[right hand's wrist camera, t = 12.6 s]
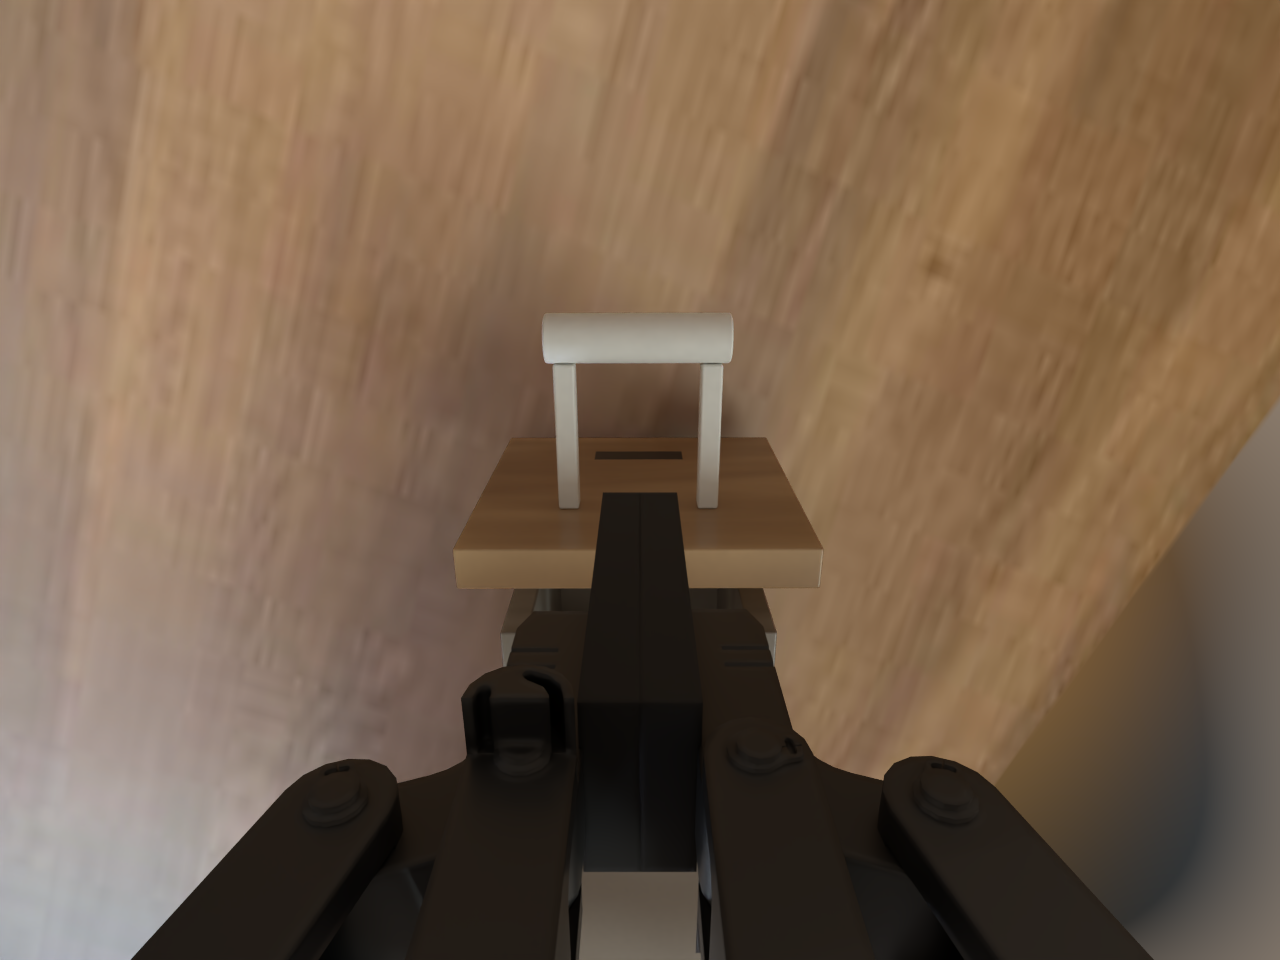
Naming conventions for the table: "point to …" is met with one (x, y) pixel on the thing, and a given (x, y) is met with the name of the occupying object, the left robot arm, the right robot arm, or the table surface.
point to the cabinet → (639, 916)
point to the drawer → (637, 485)
